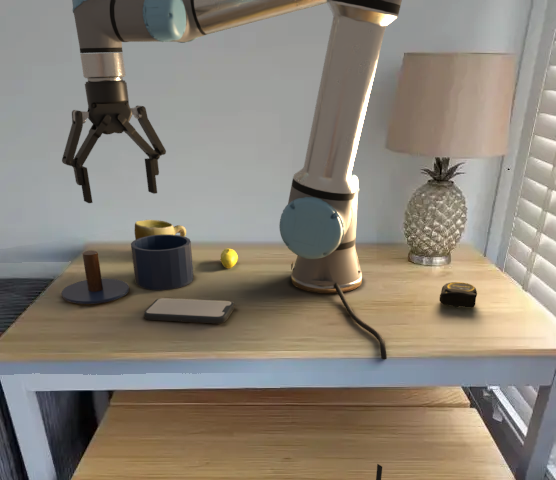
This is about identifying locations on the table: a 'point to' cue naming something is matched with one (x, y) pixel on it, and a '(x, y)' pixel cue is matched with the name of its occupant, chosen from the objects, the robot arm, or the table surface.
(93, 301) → the lid
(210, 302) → the phone case
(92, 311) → the table surface
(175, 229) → the mug
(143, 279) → the tin
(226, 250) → the lemon
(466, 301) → the tape measure
